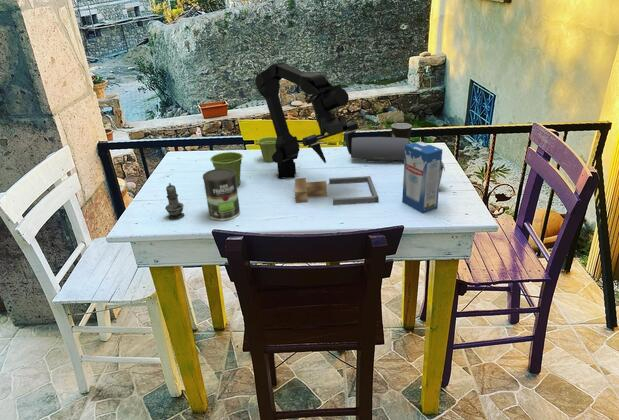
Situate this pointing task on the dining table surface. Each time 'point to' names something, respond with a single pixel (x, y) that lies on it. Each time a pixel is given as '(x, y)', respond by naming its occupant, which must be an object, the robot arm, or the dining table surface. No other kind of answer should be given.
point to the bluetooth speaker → (379, 148)
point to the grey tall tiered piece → (174, 204)
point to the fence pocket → (355, 200)
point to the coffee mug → (401, 130)
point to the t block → (309, 189)
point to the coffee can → (221, 194)
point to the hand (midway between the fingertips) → (337, 158)
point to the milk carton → (421, 176)
